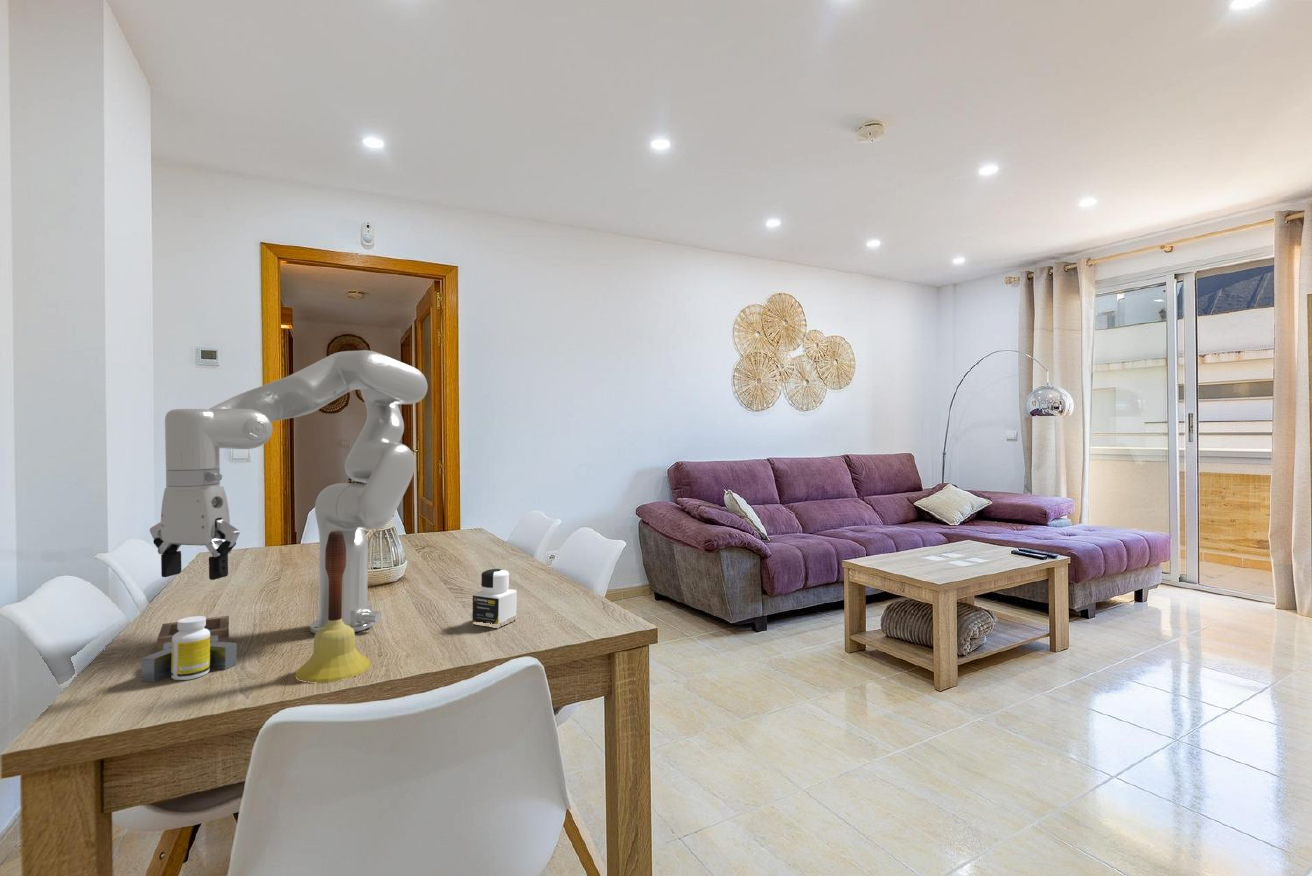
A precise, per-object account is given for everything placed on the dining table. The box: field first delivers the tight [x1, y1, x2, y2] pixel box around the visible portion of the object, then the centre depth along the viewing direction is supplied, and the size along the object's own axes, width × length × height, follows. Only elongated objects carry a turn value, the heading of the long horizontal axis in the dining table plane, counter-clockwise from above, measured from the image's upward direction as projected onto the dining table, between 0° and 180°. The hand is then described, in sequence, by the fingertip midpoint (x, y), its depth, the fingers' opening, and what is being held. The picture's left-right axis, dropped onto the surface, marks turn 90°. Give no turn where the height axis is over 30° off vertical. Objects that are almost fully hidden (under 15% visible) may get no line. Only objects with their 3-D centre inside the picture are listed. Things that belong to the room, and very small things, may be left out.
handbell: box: [294, 531, 371, 684], centre depth 110 cm, size 12×12×25 cm
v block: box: [141, 635, 238, 683], centre depth 110 cm, size 9×13×4 cm
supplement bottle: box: [170, 615, 211, 681], centre depth 107 cm, size 5×5×10 cm
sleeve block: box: [156, 615, 230, 653], centre depth 122 cm, size 11×11×4 cm
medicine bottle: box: [471, 568, 518, 624], centre depth 139 cm, size 7×7×12 cm
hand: (195, 576), depth 107 cm, fingers open, 9 cm apart
